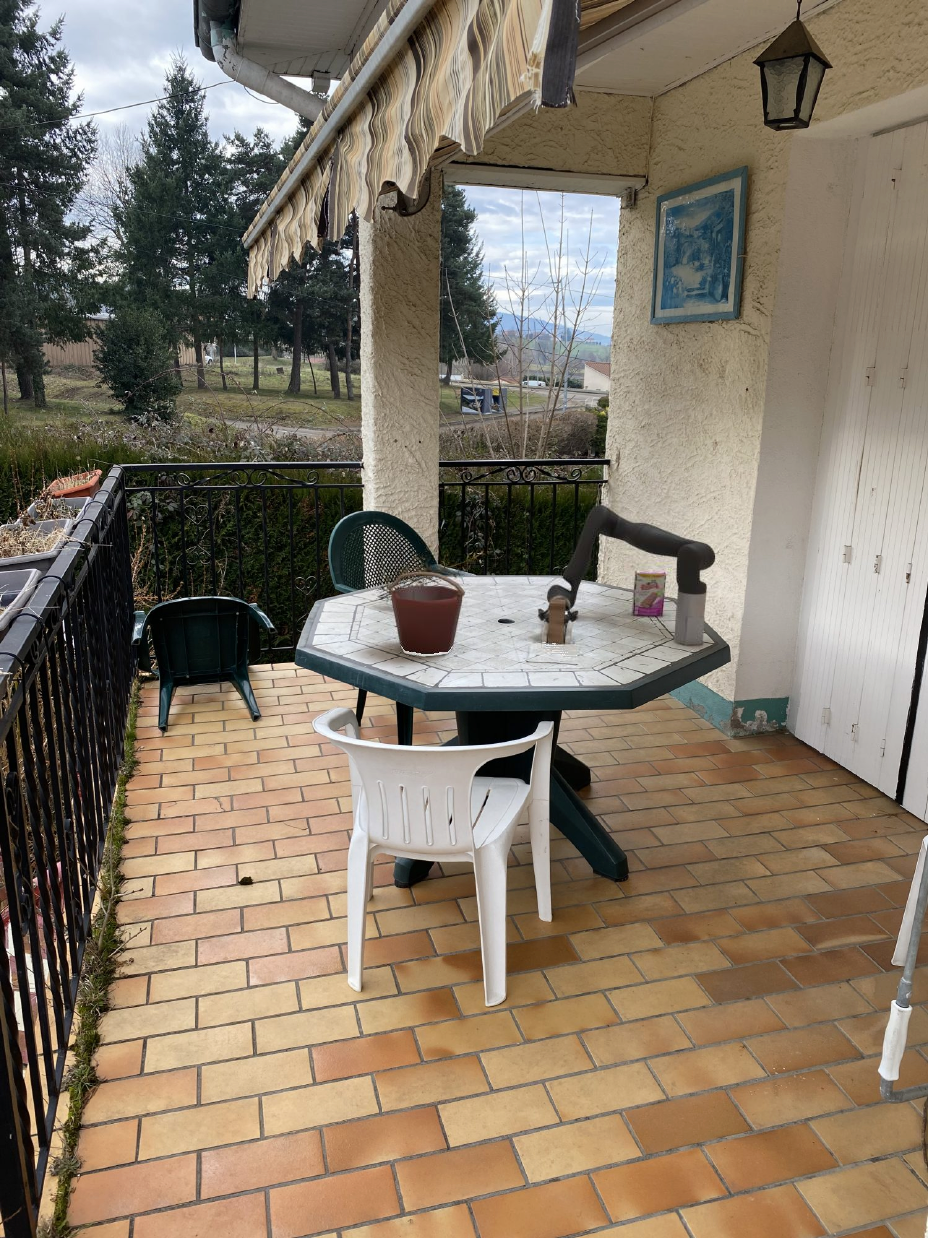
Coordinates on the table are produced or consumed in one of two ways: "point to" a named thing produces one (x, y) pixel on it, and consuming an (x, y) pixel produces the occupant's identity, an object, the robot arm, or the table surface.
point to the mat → (567, 648)
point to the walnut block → (556, 621)
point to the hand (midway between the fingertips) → (556, 620)
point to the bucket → (426, 614)
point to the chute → (568, 632)
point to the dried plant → (418, 575)
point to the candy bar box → (648, 593)
